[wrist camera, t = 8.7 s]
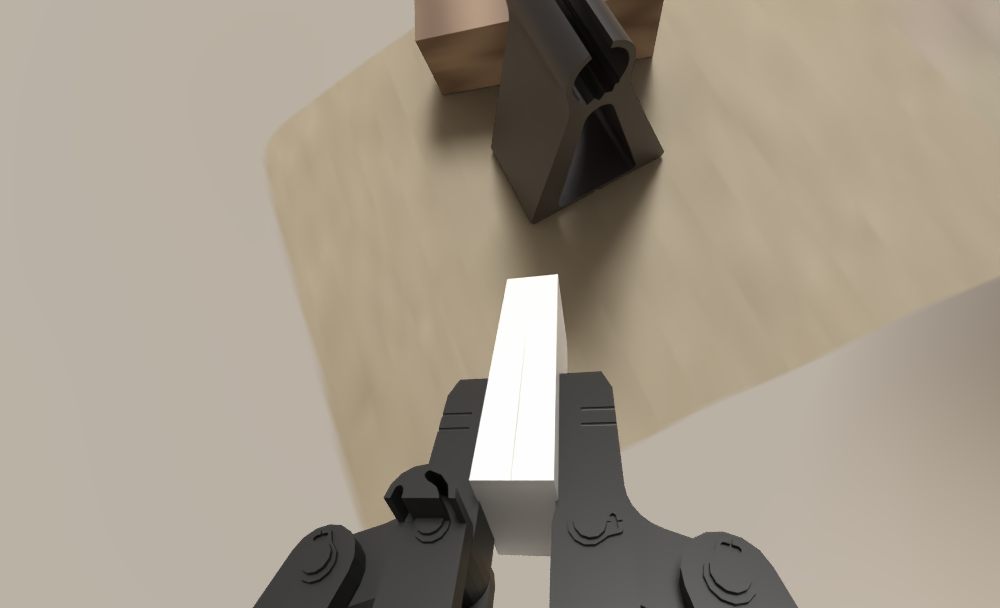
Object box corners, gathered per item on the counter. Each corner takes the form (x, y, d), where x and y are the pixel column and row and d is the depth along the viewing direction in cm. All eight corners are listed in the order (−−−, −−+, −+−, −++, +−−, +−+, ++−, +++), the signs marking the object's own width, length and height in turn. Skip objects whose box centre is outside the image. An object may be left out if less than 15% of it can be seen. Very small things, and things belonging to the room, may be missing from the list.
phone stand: (615, 82, 28) (635, -131, 16) (663, 156, 26) (721, -19, 15) (492, 150, 29) (426, -5, 17) (531, 225, 27) (489, 112, 16)
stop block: (647, 15, 28) (659, -60, 23) (652, 56, 28) (666, -13, 23) (442, 57, 31) (414, -3, 26) (443, 94, 30) (415, 41, 25)
